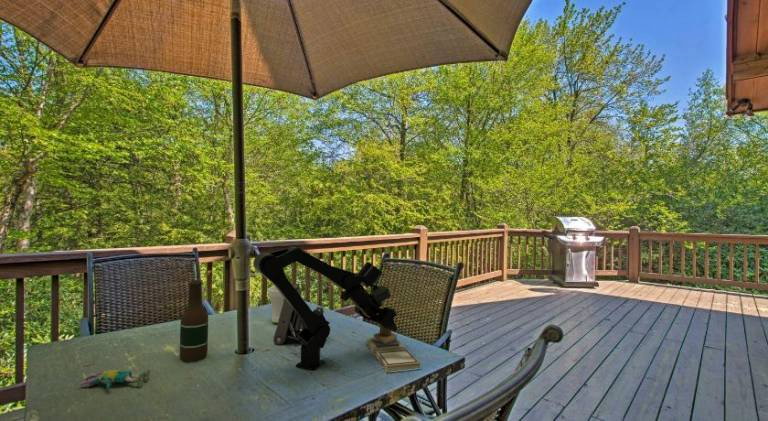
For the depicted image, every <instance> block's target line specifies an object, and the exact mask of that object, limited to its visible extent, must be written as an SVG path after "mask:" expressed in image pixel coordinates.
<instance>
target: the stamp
mask: <svg viewBox="0 0 768 421" xmlns="http://www.w3.org/2000/svg"><path fill="white" fill-rule="evenodd" d="M373 338H374V341H376V342H379V343H381V344H384V345H387V344H390V343H393V342H396V341H397V340H398V339H397V338H398V334H396V333H394V332H392V330H389V329H386V328H383V327H381V326H380V325H379V332H377V333H373Z"/></svg>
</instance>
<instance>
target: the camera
mask: <svg viewBox="0 0 768 421" xmlns="http://www.w3.org/2000/svg"><path fill="white" fill-rule="evenodd" d="M293 287H294V288H295V289H296V291H297V292H298V293H299V295H300V296H302V295H301V294H302V289H301V287H300V284H298V283H296V284H294V285H293ZM316 310H317V311H319V312H320V313H322V314H323V315H324V312H325V311H324V308H323V307H320V306H316ZM303 328H304V327H303V326H302V323H301V320H300V317H299V316H298V315H297V313H296V312H295V311H294V310H293V308H292V307H291V306H290V305H289V303H288V302H287V301H286V300H285V298H284V300H283V306H282V309H281V313H280V317H279V320H278V323H276V329H275V331H274V335H273V340H272V341H273V343H274V345H276V346H282V345H283V344H284V343H285V341H286V340H287V339H288V338H289V339H293V340H297V341H299V340H298V337H297V335H298V334H299V333H300V332H301V330H302V329H303Z"/></svg>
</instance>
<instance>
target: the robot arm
mask: <svg viewBox="0 0 768 421" xmlns="http://www.w3.org/2000/svg"><path fill="white" fill-rule="evenodd" d="M293 263H297V264H300V265H302V266H303V267H305V268H308V269H310V270H312V271H314V272H316V273H318V274H320V275H322V276H323V277H324V278H325V279H326V280H328V282H330V283H331V284H333V285H334V286H336V287H338V288H340V289H342V290H341V291H340V299H341V300H343V301H345V302H347V301H348V300H349V299H350V300H351V301H352V303H353V304H354V306H355V307H354V312H355V313H356V314H357V315H358V316H361V317H362V318H363V319H367V320H369V321H372V322H374V323H376V324H377V325H379V327H380V326H381V327H383V328H386V329H389V330H391V332H397V331H398V326H397V325H396V322H395V318H396V316H397V313H398V312H397V311H396V310H395V309H394V308H391V307H390V306H384V307H383V308H381V307H382V306H383V302H384V301H385V300H387V299H390V298H391V297H392V294H391V293H390V290H389V287H388V286H384V285H376V283H377V282H378V280H379V279H380V277H382V276H383V272H382V271H381V270H380V268H377V266H375V265H374V264H372V263H371V262H370V261H366V262H365V263H364V265H363V266H362V267H361V269H360V270H359V271H358V273H356V272H353V271H352V272H351V271H349V270H346V269H343V268H340V267H336V266H334V265H330V264H329V263H327V262H325V261H323V260H321V259H319V258H317V257H315V256H314V255H312V254H309V253H308V252H306V251H304V250H302V249H301V248H299V247H297V246H289V247H288V248H283V249H280V250H276V251H272V252H270V253H269V252H260V253H259V254H257V255H256V256H255V258H254V259H253V263H252V265H253V268H254V269H255V270H256V271H257V272H258V273H260V275H261V276H263V277H264V278H265V279H266V280H268V281H269V282H271V284H272V285H273V286H275V287H276V288H277V289H278V291H279V292H280V293H281V294H282V296H283V297H284V298H285V300H286V301H287V302H288V303H289V305H290V306H291V307H292V308H293V310H294V311H295V312H296V313H297V315H298V316H299V317H300V320H301V323H302V326H303V327H304V328H303V329H300V331H301V332H300V333H299V334H298V335H297V337H298V340H297V341H298V342H299V343H301V346H300V362H298V363H297V364H296V365H295V368H300V369H305V370H311V371H315V370H318V369H319V367H321V366H322V365H323V364H324V363H326V362H325V361H326V360H324V359H321V349H323V348H325V344H326V341H327V339H328V338H329V336H330V335H331V334H330V333H331V327H330V322H329V321H328V320H326V317H325V315H324V313H323V314H322V313H320V312H319V311H320V310H319V311H317V310H316V309H315V308H314V310H312V309H311V307H310V306H309V305H308V304H307V303H306V301H305V300H304V298H303V297H302V295H299V293H298V292H297V291H296V289H295V288H294V287H293V286H294V285H293V284H292V283H291V281H290V280H289V279H288V278H287V276H286V273H285V270H284V269H285V268H286V267H288V266H289V265H292V264H293ZM368 288H370V292H369V291H368V290H367V289H368Z"/></svg>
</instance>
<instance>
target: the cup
mask: <svg viewBox="0 0 768 421" xmlns="http://www.w3.org/2000/svg"><path fill="white" fill-rule="evenodd" d="M267 296H268V297H269V300H270V303H271V308H272V314H271V323H272V324H273V325H277V324H278V320H279V317H280V313H281V309H282V306H283V300H284V297H283V296H282V294H281V293H280V292H279V291H278V289H277V288H276V287H275V286H274V285H273V286H269V287H268V288H267Z"/></svg>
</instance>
